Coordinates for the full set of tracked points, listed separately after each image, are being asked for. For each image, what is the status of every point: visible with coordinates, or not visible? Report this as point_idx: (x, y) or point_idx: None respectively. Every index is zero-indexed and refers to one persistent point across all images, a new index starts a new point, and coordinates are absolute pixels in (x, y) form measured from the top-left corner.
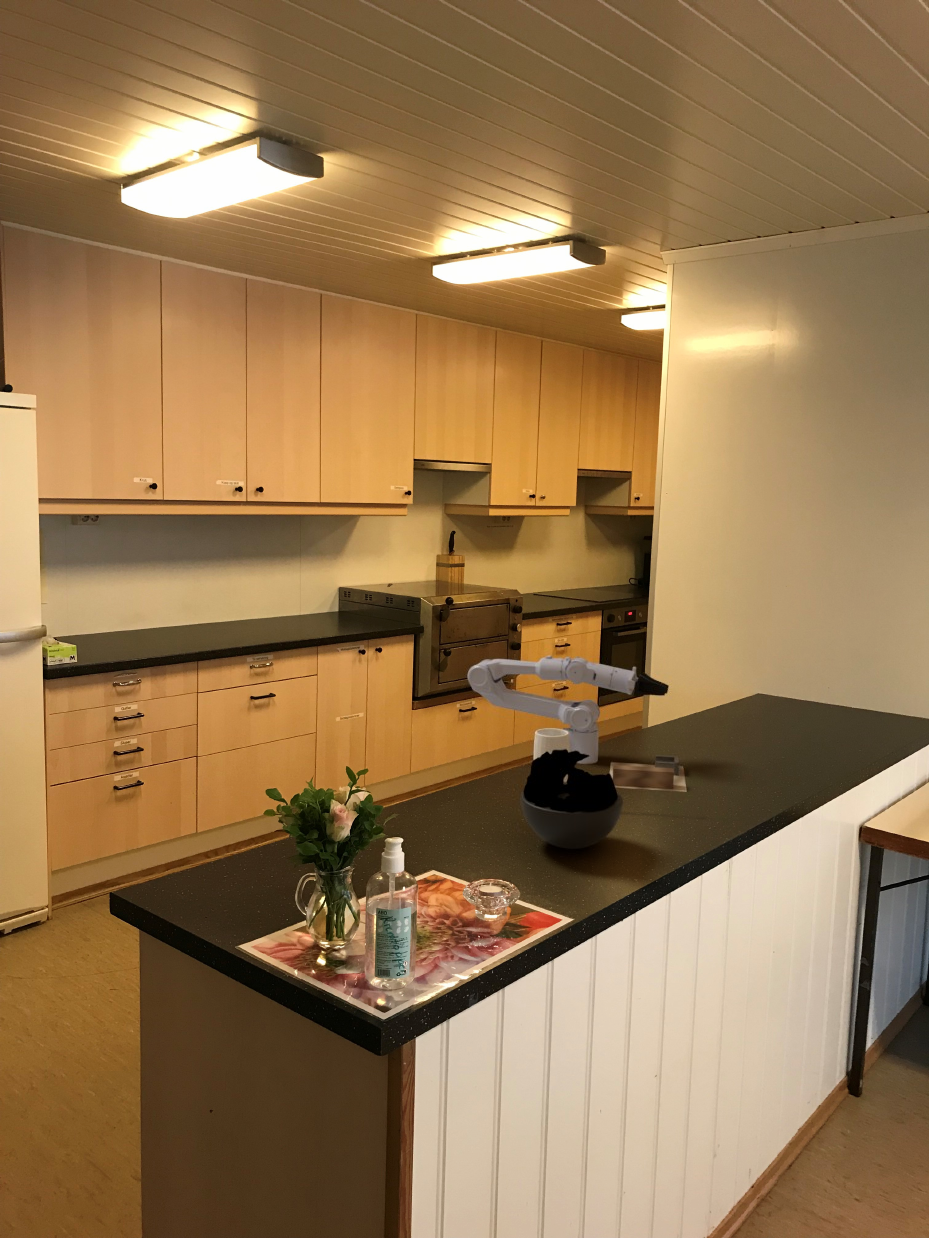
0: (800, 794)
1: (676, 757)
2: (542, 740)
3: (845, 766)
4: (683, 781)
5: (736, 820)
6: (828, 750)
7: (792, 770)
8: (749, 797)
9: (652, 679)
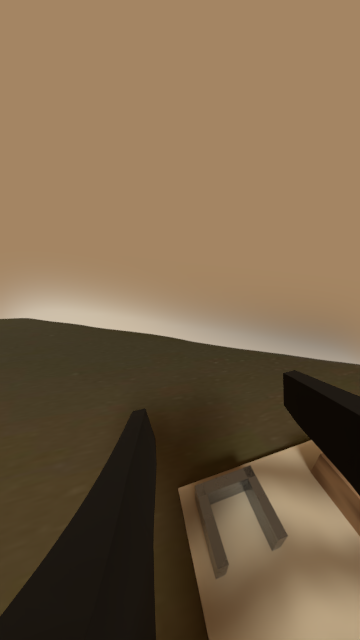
0: (208, 349)
1: (206, 486)
2: None
3: (107, 337)
4: (273, 457)
5: (333, 373)
6: (48, 349)
7: (130, 361)
8: (251, 376)
9: (118, 522)
